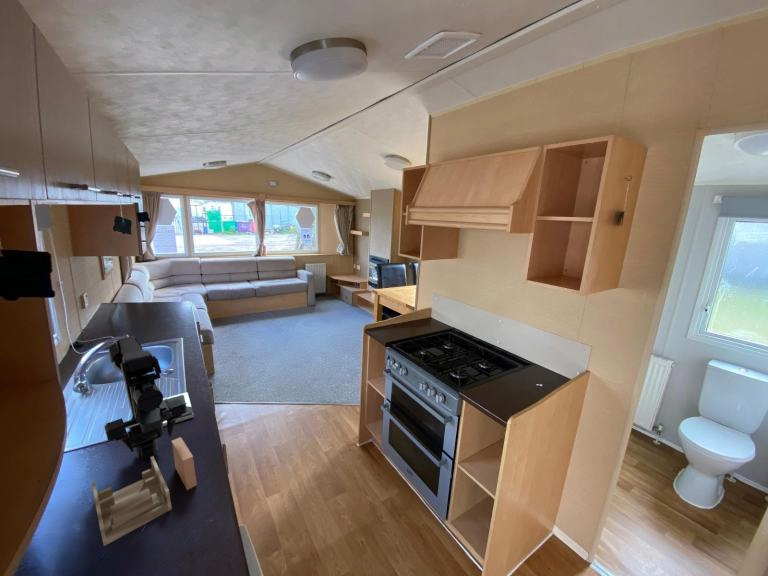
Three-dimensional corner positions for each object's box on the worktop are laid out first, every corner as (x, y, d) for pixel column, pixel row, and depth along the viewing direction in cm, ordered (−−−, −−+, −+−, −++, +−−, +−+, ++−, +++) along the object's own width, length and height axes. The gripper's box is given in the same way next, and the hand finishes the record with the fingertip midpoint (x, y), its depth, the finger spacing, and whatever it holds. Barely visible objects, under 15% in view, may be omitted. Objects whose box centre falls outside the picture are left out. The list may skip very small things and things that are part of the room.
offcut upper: (111, 514, 81) (110, 506, 81) (149, 495, 87) (148, 488, 86) (114, 525, 79) (112, 516, 78) (153, 504, 84) (151, 496, 84)
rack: (96, 504, 88) (91, 482, 87) (156, 475, 98) (153, 456, 97) (104, 549, 76) (99, 525, 75) (172, 511, 86) (168, 490, 85)
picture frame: (193, 418, 128) (187, 396, 144) (193, 412, 127) (187, 390, 143) (145, 433, 119) (144, 408, 135) (144, 427, 118) (143, 401, 134)
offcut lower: (111, 524, 81) (109, 516, 81) (157, 500, 88) (156, 492, 88) (113, 534, 79) (111, 526, 78) (161, 509, 86) (159, 501, 85)
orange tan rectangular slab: (187, 490, 92) (183, 460, 90) (175, 468, 100) (171, 440, 98) (196, 485, 94) (192, 456, 92) (184, 464, 102) (180, 437, 100)
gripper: (105, 422, 80) (115, 475, 83) (188, 394, 93) (194, 440, 96) (100, 404, 87) (109, 454, 91) (178, 381, 101) (184, 424, 104)
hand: (151, 443), depth 95 cm, fingers open, 9 cm apart
